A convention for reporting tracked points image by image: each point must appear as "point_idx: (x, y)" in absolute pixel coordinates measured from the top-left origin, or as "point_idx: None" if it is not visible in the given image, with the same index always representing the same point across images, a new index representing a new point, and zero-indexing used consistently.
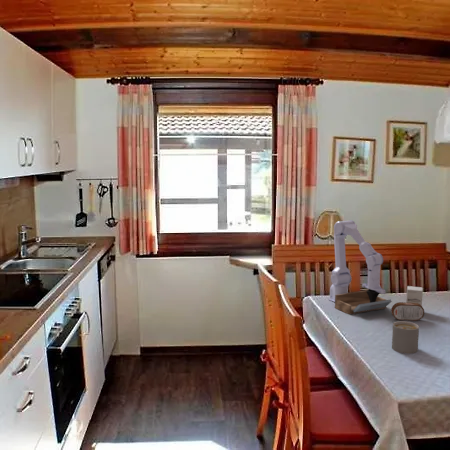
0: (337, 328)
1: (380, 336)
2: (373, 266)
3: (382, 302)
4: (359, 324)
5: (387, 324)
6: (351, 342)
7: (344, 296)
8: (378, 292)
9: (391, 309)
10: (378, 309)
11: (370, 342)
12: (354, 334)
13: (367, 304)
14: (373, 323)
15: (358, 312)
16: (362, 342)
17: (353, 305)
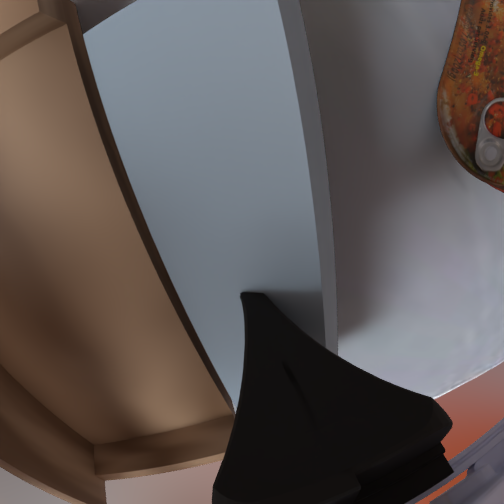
0: None
1: (499, 308)
2: None
3: (327, 194)
4: (393, 364)
5: (468, 234)
6: (464, 380)
7: (58, 473)
8: (485, 435)
9: (489, 183)
10: (108, 124)
11: (494, 340)
12: (442, 377)
13: None
14: (422, 304)
15: (206, 354)
16: (481, 358)
17: (99, 389)
